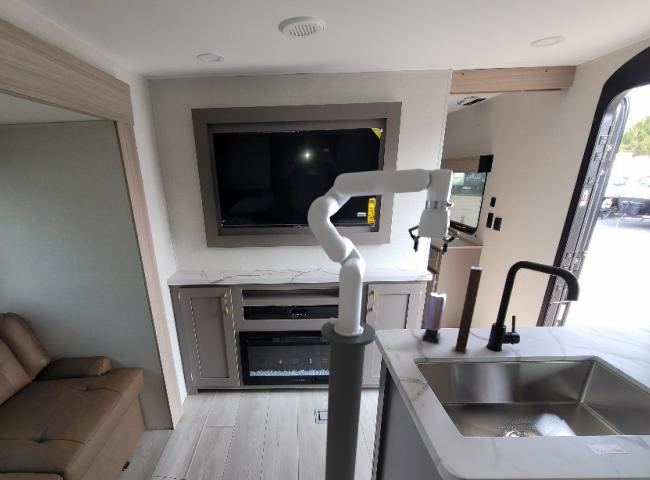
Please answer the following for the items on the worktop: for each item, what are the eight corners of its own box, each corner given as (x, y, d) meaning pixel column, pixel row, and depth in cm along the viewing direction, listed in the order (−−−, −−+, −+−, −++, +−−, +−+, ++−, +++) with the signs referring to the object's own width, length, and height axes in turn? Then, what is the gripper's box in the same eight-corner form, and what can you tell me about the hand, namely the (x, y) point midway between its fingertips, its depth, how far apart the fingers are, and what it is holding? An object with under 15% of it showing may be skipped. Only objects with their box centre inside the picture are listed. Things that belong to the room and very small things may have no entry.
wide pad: (422, 340, 138) (423, 335, 137) (424, 335, 142) (425, 330, 142) (437, 343, 135) (438, 338, 134) (439, 338, 140) (440, 333, 139)
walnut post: (454, 351, 129) (470, 268, 117) (455, 347, 132) (471, 266, 120) (464, 353, 127) (482, 269, 115) (465, 349, 130) (482, 267, 118)
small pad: (425, 335, 137) (426, 328, 136) (427, 331, 141) (428, 324, 140) (436, 337, 135) (437, 331, 134) (438, 333, 139) (439, 327, 137)
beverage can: (422, 327, 137) (427, 294, 132) (429, 323, 141) (434, 291, 135) (436, 332, 133) (442, 298, 127) (443, 328, 136) (448, 294, 131)
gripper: (464, 206, 116) (455, 253, 122) (413, 204, 124) (407, 248, 130) (462, 207, 110) (453, 257, 116) (409, 205, 118) (403, 252, 124)
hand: (429, 252), depth 123 cm, fingers open, 9 cm apart
